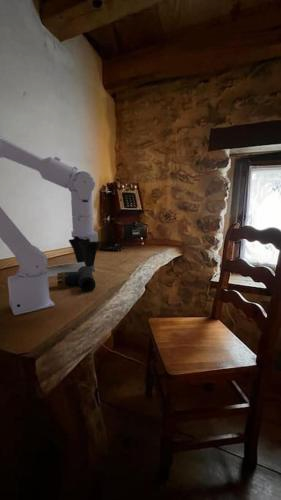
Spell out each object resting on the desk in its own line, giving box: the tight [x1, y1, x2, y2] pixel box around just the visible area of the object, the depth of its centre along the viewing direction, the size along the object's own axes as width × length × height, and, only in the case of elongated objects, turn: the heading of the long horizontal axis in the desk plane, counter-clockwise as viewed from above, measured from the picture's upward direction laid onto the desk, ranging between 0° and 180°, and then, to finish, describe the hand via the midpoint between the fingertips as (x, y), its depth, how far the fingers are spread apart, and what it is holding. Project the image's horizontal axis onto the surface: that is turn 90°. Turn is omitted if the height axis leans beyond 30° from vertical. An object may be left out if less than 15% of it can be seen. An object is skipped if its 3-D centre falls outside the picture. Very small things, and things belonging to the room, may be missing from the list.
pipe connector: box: [56, 266, 97, 293], centre depth 77 cm, size 12×5×15 cm
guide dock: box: [46, 261, 95, 278], centre depth 91 cm, size 20×4×4 cm, turn 126°
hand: (85, 264), depth 67 cm, fingers open, 6 cm apart
